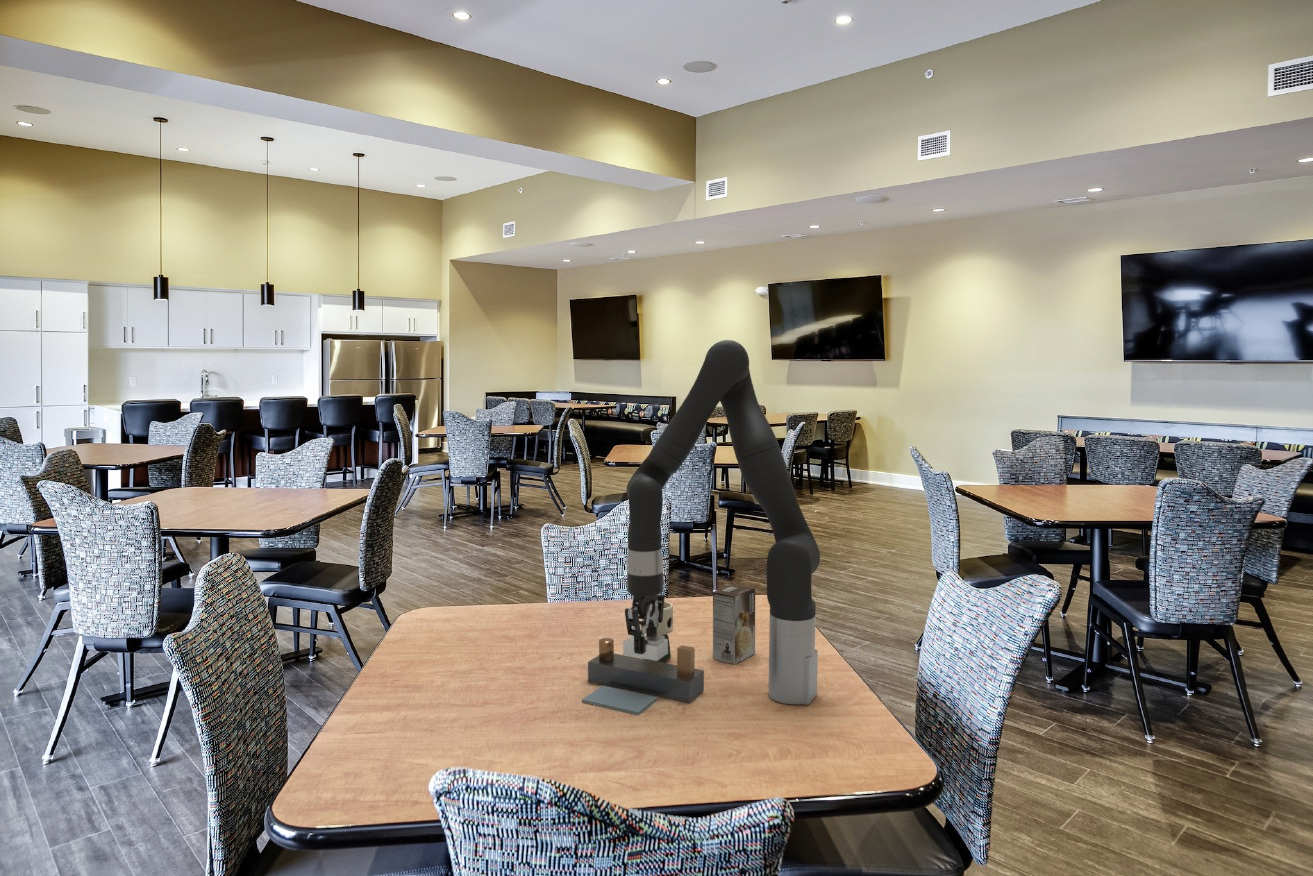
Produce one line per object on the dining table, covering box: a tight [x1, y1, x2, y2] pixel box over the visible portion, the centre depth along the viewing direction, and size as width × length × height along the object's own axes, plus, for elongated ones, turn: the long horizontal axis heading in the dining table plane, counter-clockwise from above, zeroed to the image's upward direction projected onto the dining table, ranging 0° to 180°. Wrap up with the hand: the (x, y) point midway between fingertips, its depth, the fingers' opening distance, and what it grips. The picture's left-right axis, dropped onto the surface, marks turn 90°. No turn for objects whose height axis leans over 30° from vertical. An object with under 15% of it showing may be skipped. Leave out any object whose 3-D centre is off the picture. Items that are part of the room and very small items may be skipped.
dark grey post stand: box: [587, 637, 705, 704], centre depth 170 cm, size 24×7×10 cm, turn 63°
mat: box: [581, 685, 658, 716], centre depth 163 cm, size 13×8×1 cm, turn 63°
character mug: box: [641, 600, 674, 662], centre depth 186 cm, size 11×7×13 cm, turn 179°
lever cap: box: [622, 634, 668, 662], centre depth 169 cm, size 8×5×4 cm, turn 63°
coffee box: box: [712, 583, 756, 665], centre depth 188 cm, size 9×6×16 cm
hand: (645, 648), depth 169 cm, fingers closed on lever cap, 5 cm apart
